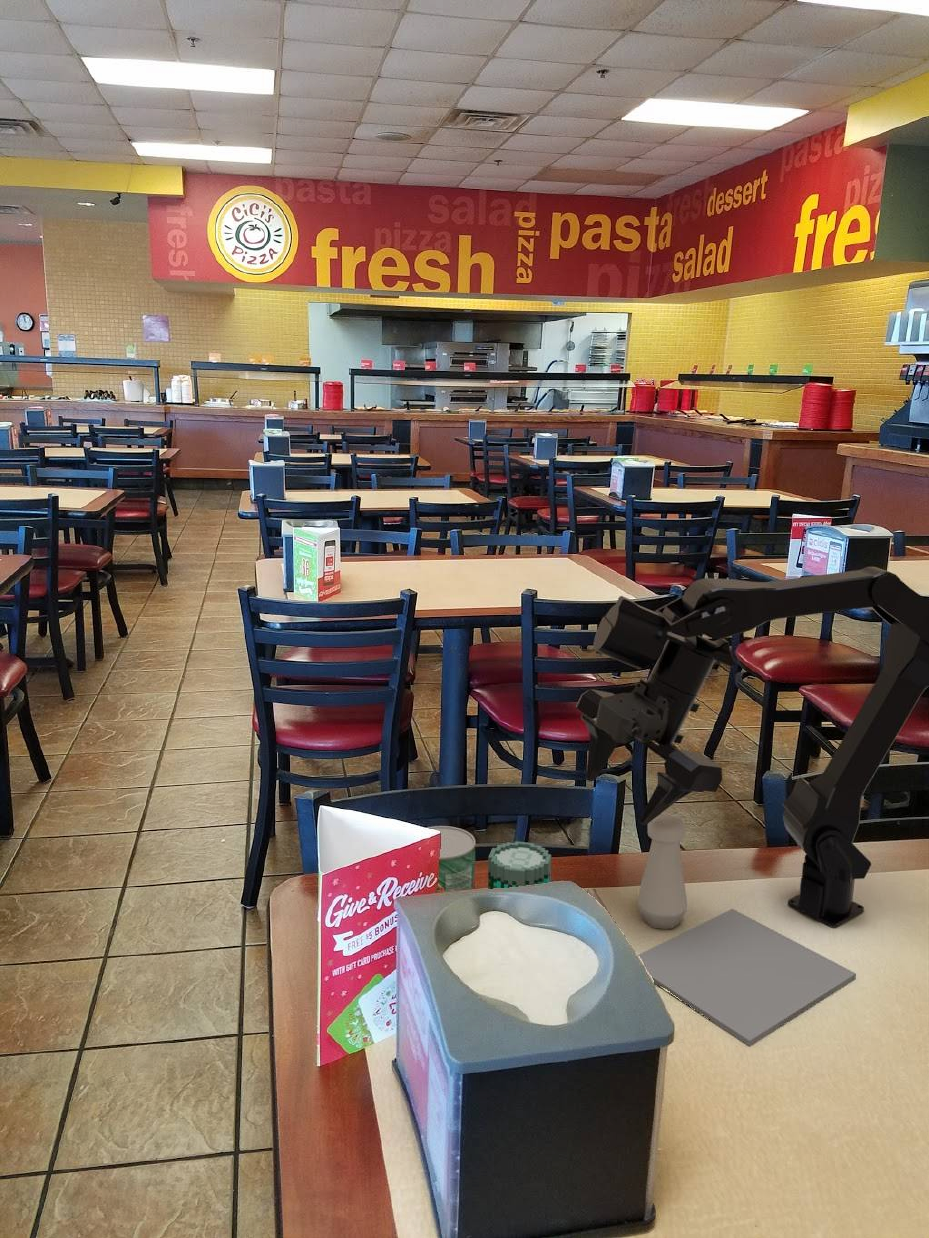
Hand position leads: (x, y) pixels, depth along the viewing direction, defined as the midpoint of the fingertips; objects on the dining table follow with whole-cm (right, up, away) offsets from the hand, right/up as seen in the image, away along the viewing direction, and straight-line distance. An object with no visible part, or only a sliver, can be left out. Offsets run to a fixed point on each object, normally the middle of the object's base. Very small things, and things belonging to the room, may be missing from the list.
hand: (615, 801), depth 106 cm
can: (-12, -17, -11) cm, 24 cm away
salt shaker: (+6, -15, +1) cm, 16 cm away
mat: (+12, -17, -9) cm, 22 cm away
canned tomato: (-20, -15, 0) cm, 25 cm away
